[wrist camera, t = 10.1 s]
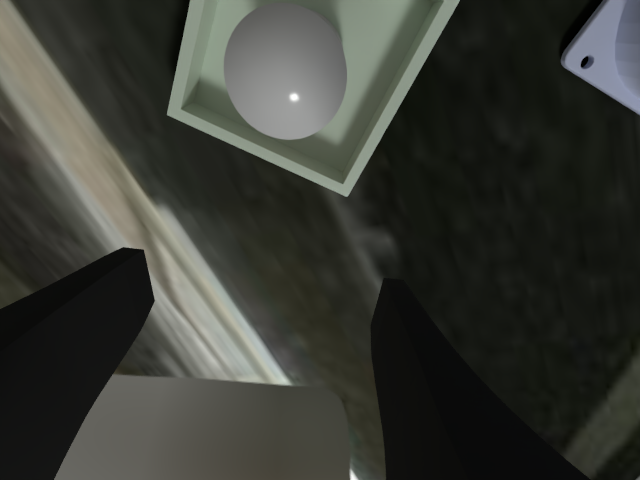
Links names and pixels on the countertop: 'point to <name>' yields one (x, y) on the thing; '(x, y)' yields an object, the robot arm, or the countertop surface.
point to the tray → (361, 89)
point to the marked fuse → (285, 70)
